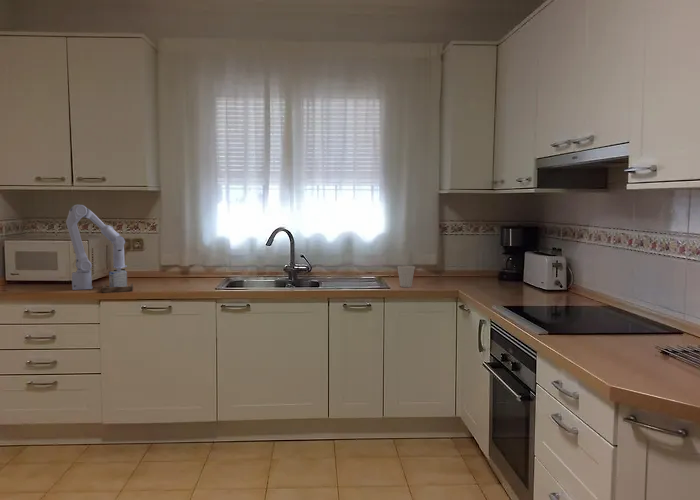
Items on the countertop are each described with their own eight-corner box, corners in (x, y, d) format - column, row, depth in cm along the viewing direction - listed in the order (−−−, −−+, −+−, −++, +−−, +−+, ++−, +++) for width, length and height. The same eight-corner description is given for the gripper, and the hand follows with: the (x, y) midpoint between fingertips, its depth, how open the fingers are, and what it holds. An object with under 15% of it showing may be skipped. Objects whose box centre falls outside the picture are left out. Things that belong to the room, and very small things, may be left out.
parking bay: (102, 292, 302) (102, 287, 302) (103, 289, 313) (103, 284, 313) (132, 291, 307) (132, 286, 307) (133, 288, 318) (133, 283, 317)
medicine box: (122, 285, 324) (122, 270, 323) (127, 286, 321) (127, 270, 320) (109, 287, 318) (108, 271, 317) (113, 288, 315) (113, 272, 314)
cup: (409, 285, 333) (410, 265, 332) (418, 287, 324) (418, 267, 323) (393, 285, 330) (393, 266, 329) (401, 288, 320) (401, 268, 319)
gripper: (126, 258, 318) (127, 284, 319) (127, 256, 332) (128, 280, 333) (112, 259, 316) (113, 284, 317) (113, 256, 330) (114, 281, 331)
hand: (119, 282), depth 325 cm, fingers closed
